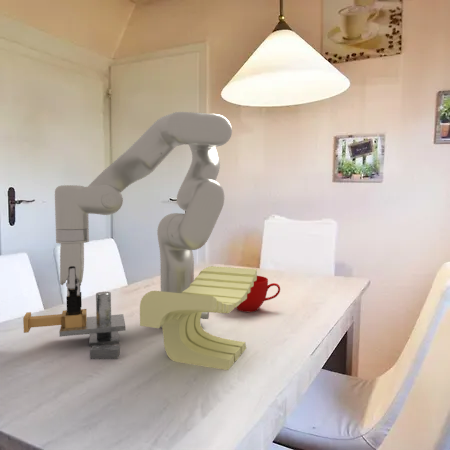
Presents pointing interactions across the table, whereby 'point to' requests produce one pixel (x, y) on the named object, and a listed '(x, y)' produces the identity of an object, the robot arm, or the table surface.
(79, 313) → the pin
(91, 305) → the table surface
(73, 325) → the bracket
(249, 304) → the ceramic cup
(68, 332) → the grey metal fixture
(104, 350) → the wedge bar
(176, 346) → the slatted curved stool
